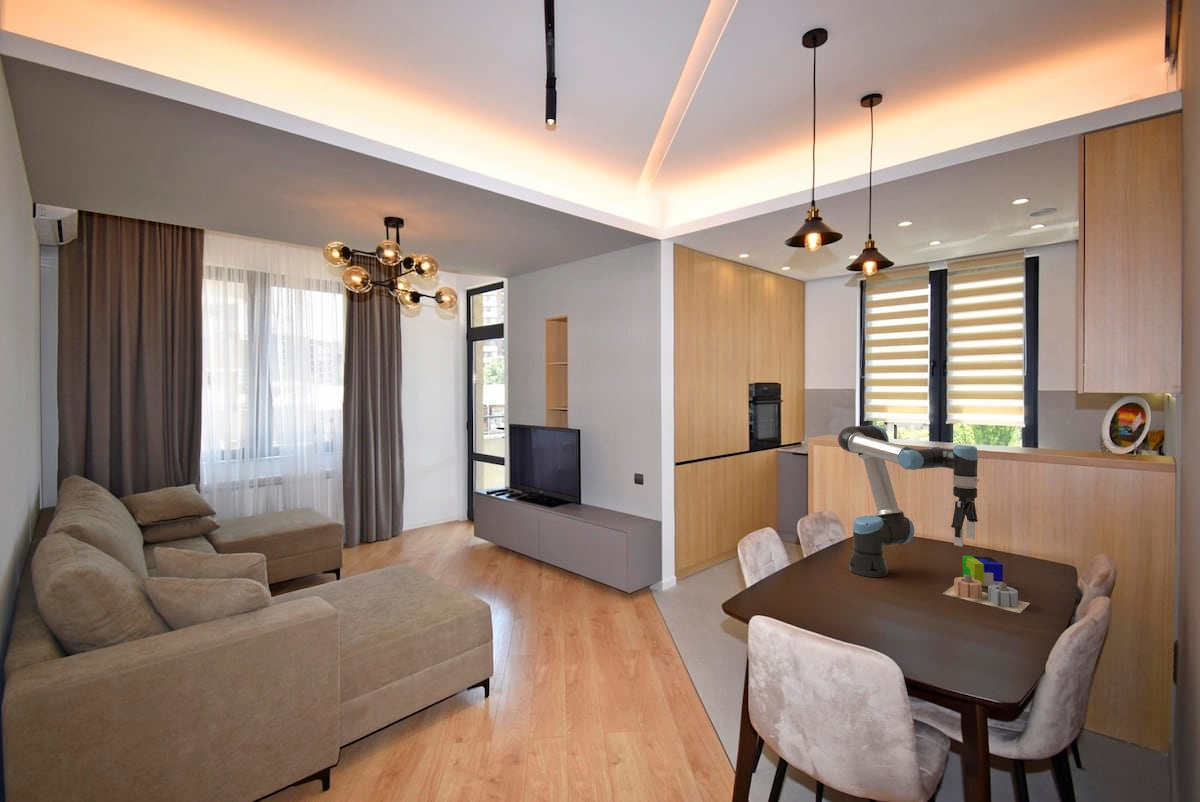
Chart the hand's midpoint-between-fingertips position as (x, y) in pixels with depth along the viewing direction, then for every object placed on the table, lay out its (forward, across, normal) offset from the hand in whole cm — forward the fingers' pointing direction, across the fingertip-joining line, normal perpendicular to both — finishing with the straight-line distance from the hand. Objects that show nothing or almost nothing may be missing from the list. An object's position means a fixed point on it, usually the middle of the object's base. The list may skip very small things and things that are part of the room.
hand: (964, 542), depth 204 cm
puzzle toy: (+21, +19, -1) cm, 28 cm away
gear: (+20, 0, -12) cm, 23 cm away
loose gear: (+20, 0, -1) cm, 20 cm away
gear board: (+21, 0, -7) cm, 22 cm away
